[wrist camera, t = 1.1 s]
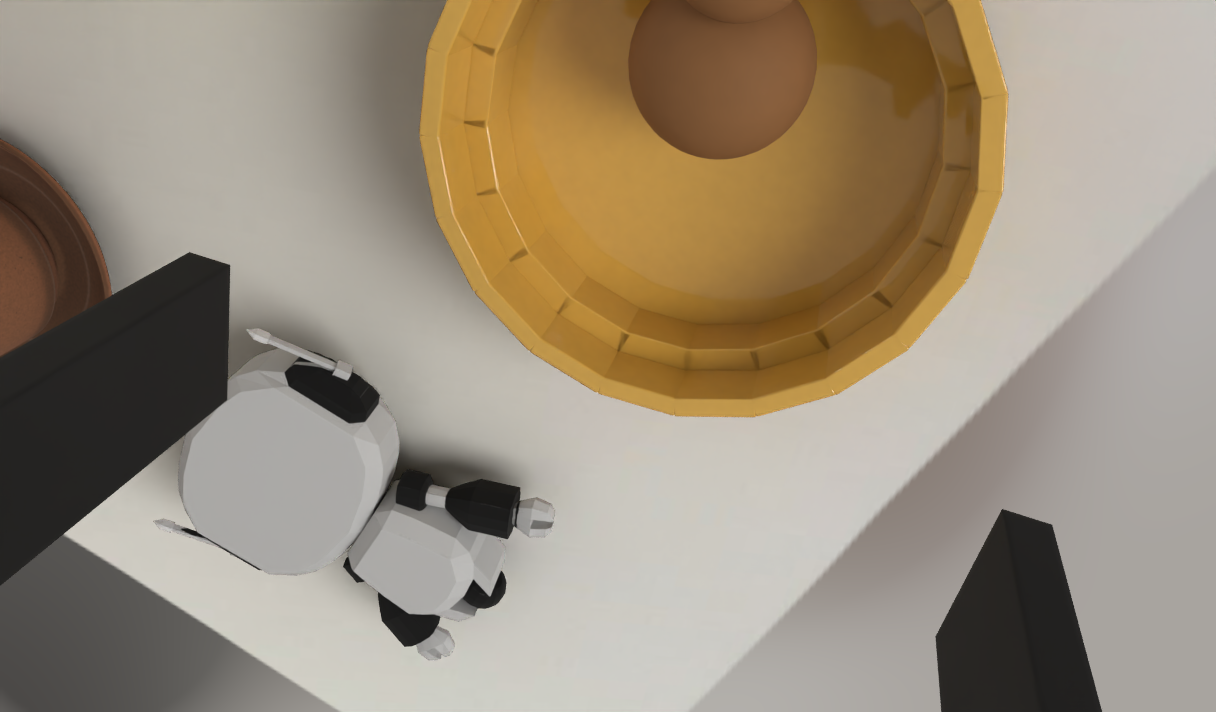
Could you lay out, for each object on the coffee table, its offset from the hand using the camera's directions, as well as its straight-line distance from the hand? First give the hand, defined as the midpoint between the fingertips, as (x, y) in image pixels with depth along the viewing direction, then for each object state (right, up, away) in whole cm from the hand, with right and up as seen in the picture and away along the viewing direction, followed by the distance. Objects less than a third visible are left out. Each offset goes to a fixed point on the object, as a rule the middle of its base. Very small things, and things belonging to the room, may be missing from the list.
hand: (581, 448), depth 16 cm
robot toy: (-10, -4, +28) cm, 30 cm away
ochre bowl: (+4, +9, +17) cm, 20 cm away
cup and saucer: (-26, +6, +27) cm, 38 cm away
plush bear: (+4, +9, +16) cm, 18 cm away
